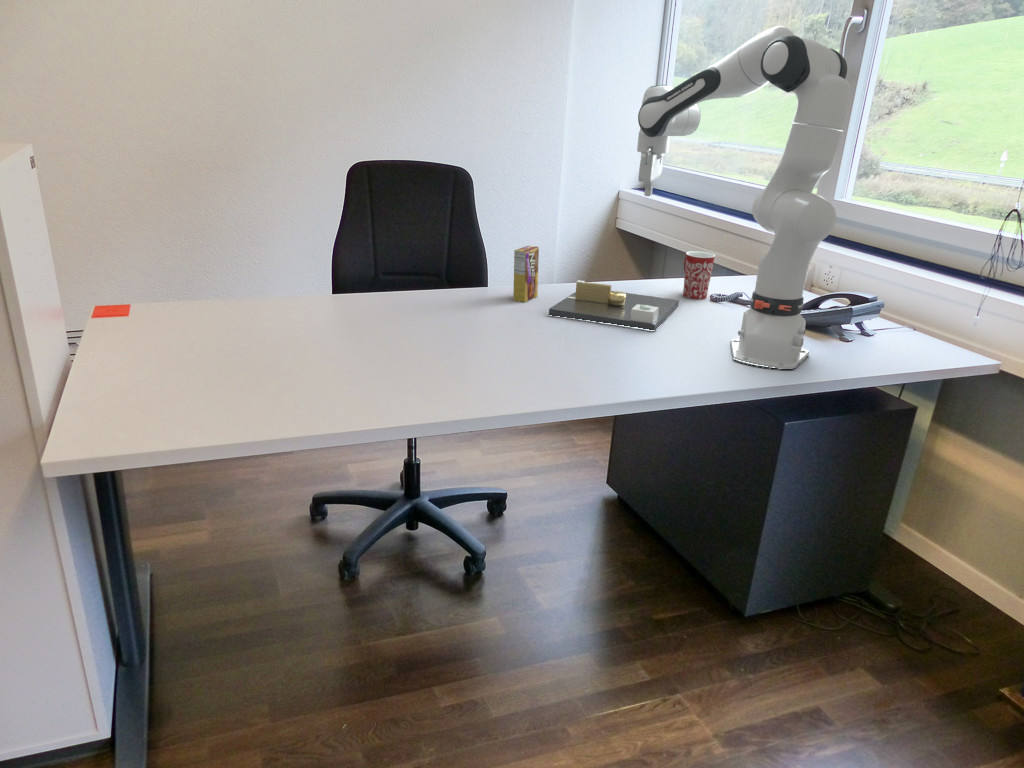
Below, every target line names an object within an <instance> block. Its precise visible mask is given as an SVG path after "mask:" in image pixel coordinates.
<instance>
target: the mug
mask: <svg viewBox="0 0 1024 768" xmlns="http://www.w3.org/2000/svg"><path fill="white" fill-rule="evenodd" d="M715 258H716V254H714V253H711V252H705V251H698V250H696V251H695V250H693V251H687V252H685V258H684V262H683V272H684V280H683V290H682V291H683V293H682V294H683V297H685V298H687V299H694V300H705V299H706V298H708V297H707V296H708V292H709V285H710V282H711V278H712V277H711V276H712V272H713V268H714V261H715Z"/></svg>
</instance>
